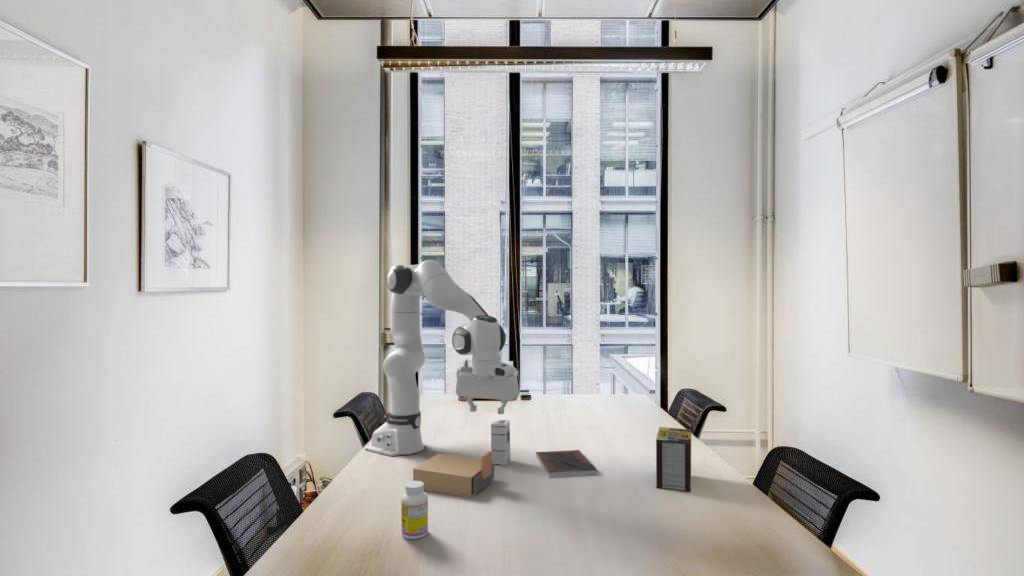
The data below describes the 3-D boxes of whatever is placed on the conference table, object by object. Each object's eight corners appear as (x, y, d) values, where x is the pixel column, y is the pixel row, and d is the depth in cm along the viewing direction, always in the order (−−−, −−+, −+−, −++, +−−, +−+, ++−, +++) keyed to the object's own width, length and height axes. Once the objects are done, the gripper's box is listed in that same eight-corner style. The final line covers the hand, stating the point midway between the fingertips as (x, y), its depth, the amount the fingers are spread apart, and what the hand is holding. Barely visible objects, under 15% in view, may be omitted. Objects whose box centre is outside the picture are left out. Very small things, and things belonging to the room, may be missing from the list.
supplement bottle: (403, 528, 138) (403, 479, 138) (428, 527, 139) (428, 478, 139) (399, 541, 132) (399, 489, 132) (426, 539, 132) (426, 488, 132)
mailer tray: (415, 484, 167) (415, 451, 167) (438, 469, 180) (438, 439, 180) (478, 494, 158) (478, 460, 158) (497, 478, 172) (497, 447, 172)
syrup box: (507, 465, 186) (507, 424, 186) (490, 464, 187) (490, 423, 187) (510, 460, 192) (510, 420, 192) (494, 459, 193) (494, 419, 193)
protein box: (691, 475, 177) (691, 429, 177) (690, 492, 162) (691, 442, 162) (658, 471, 180) (658, 426, 180) (655, 488, 166) (655, 438, 166)
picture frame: (596, 476, 178) (579, 456, 199) (596, 469, 178) (579, 449, 199) (548, 479, 175) (535, 458, 196) (548, 472, 175) (535, 451, 196)
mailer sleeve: (413, 487, 166) (413, 468, 166) (438, 471, 181) (438, 453, 181) (470, 497, 158) (470, 477, 158) (492, 479, 173) (492, 460, 173)
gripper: (452, 368, 166) (452, 412, 166) (512, 371, 158) (513, 417, 159) (461, 365, 172) (461, 407, 172) (520, 368, 164) (520, 412, 164)
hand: (487, 412), depth 165 cm, fingers open, 8 cm apart
